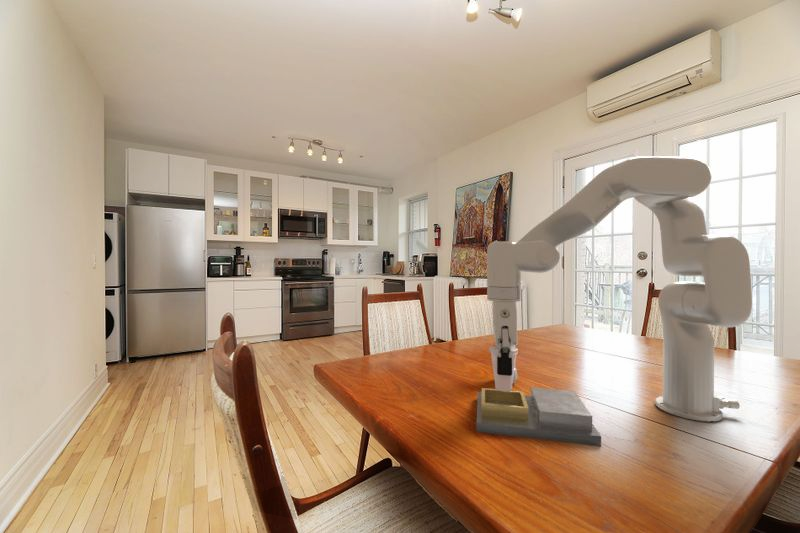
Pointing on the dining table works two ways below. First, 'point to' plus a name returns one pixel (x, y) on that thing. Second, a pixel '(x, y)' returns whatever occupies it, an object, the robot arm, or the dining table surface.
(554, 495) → the dining table surface
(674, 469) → the dining table surface
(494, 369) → the smoothie
